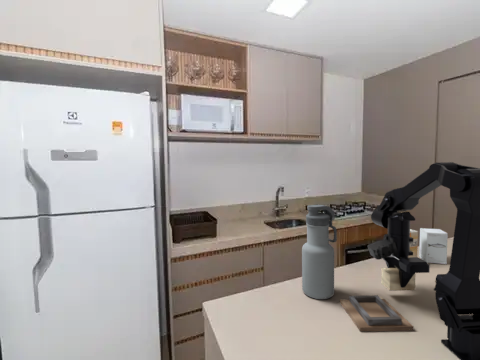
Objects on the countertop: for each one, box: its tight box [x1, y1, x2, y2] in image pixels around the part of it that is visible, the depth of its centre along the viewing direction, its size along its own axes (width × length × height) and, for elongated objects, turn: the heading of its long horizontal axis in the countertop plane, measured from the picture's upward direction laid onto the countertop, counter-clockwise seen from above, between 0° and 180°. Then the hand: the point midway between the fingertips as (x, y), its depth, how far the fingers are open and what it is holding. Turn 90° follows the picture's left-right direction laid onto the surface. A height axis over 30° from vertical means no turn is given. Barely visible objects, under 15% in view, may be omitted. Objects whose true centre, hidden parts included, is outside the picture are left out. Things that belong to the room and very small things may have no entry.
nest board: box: [339, 294, 414, 332], centre depth 70 cm, size 13×13×2 cm
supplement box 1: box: [408, 228, 419, 258], centre depth 105 cm, size 8×5×13 cm, turn 105°
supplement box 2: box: [418, 227, 449, 265], centre depth 106 cm, size 7×7×13 cm
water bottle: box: [301, 204, 338, 300], centre depth 82 cm, size 10×10×28 cm
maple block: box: [380, 267, 416, 292], centre depth 79 cm, size 8×4×5 cm, turn 90°
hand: (397, 283), depth 79 cm, fingers closed on maple block, 4 cm apart
